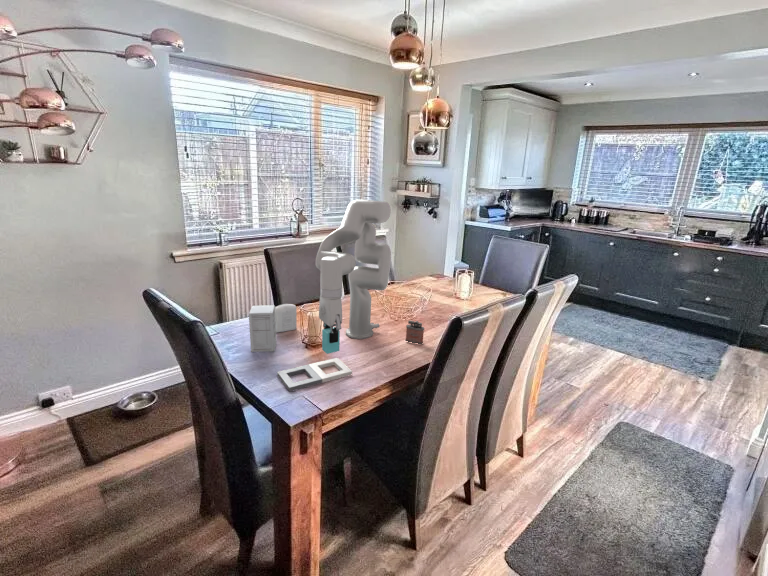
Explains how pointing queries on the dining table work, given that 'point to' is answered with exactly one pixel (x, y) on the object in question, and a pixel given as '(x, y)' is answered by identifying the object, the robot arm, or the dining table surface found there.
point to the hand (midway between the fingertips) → (330, 339)
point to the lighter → (414, 332)
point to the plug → (328, 346)
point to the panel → (313, 374)
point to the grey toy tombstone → (285, 317)
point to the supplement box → (262, 328)
